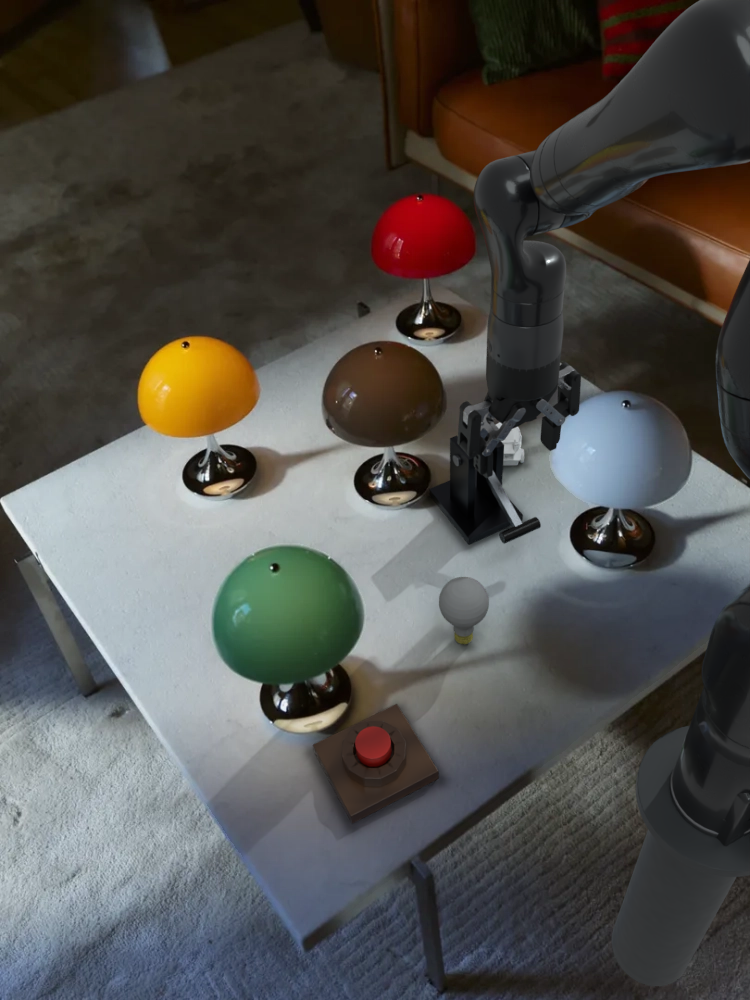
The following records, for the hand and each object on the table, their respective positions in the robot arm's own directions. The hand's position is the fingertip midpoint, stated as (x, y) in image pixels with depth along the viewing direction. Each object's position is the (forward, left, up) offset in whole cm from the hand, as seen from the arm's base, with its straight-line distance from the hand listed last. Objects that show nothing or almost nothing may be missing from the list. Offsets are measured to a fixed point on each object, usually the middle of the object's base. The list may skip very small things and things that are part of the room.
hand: (516, 459), depth 107 cm
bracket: (+8, +1, -15) cm, 17 cm away
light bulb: (-9, +13, -15) cm, 22 cm away
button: (-18, +29, -12) cm, 36 cm away
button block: (-18, +29, -15) cm, 37 cm away
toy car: (+15, -8, -15) cm, 22 cm away
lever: (+3, +1, -8) cm, 9 cm away
